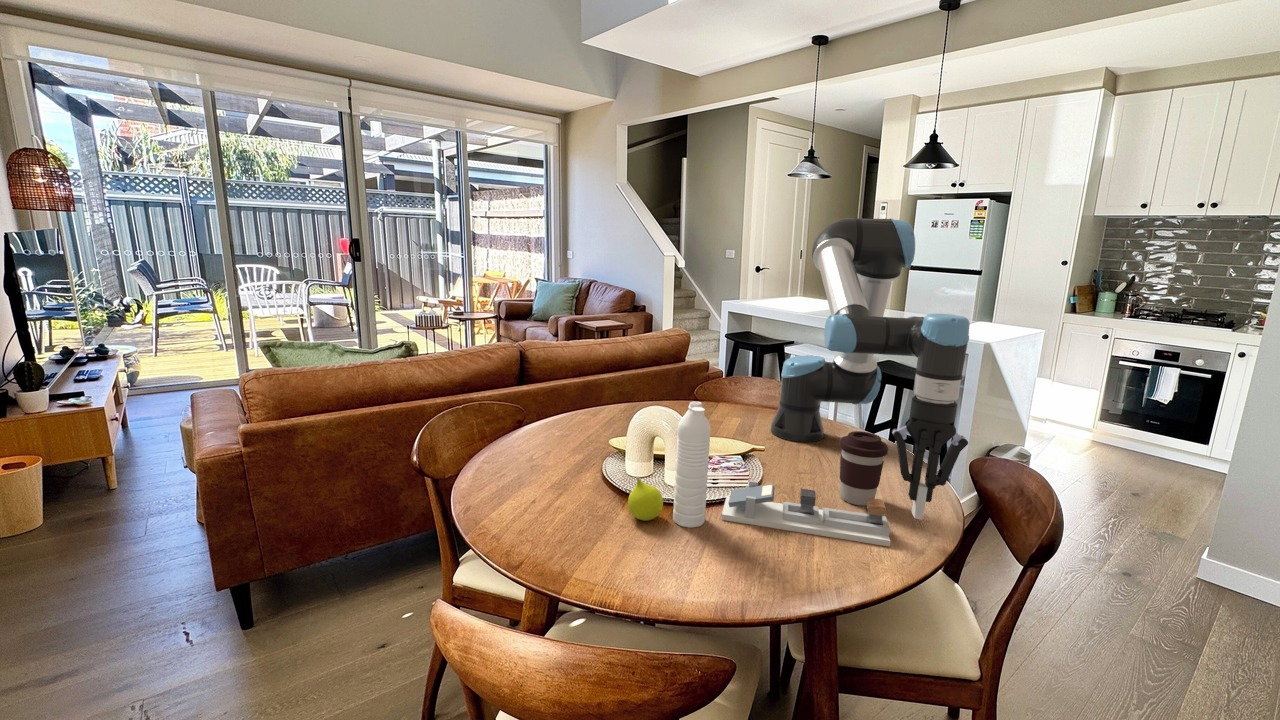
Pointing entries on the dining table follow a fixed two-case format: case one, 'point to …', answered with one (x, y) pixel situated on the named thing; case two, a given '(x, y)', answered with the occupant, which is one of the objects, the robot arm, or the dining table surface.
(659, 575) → the dining table surface
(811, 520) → the panel
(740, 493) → the rocker
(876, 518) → the slider
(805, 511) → the slider
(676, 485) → the water bottle
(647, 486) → the ornament
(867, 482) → the coffee cup
